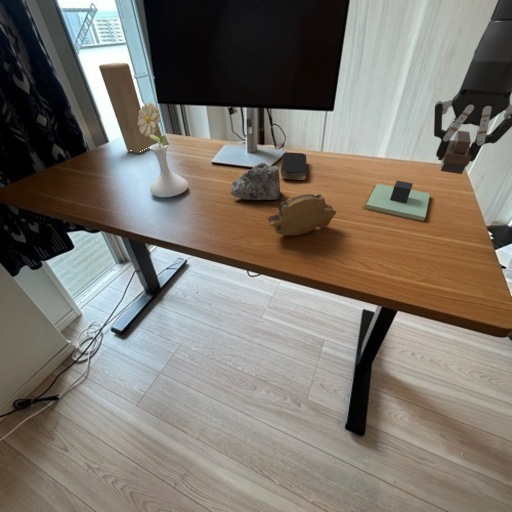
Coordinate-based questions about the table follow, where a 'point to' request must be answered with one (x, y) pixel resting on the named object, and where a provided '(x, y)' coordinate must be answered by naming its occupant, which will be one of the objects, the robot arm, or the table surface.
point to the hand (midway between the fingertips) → (453, 160)
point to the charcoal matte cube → (401, 191)
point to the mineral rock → (258, 183)
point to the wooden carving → (302, 215)
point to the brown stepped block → (457, 153)
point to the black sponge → (293, 166)
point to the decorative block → (126, 106)
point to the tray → (399, 203)
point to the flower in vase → (160, 154)
